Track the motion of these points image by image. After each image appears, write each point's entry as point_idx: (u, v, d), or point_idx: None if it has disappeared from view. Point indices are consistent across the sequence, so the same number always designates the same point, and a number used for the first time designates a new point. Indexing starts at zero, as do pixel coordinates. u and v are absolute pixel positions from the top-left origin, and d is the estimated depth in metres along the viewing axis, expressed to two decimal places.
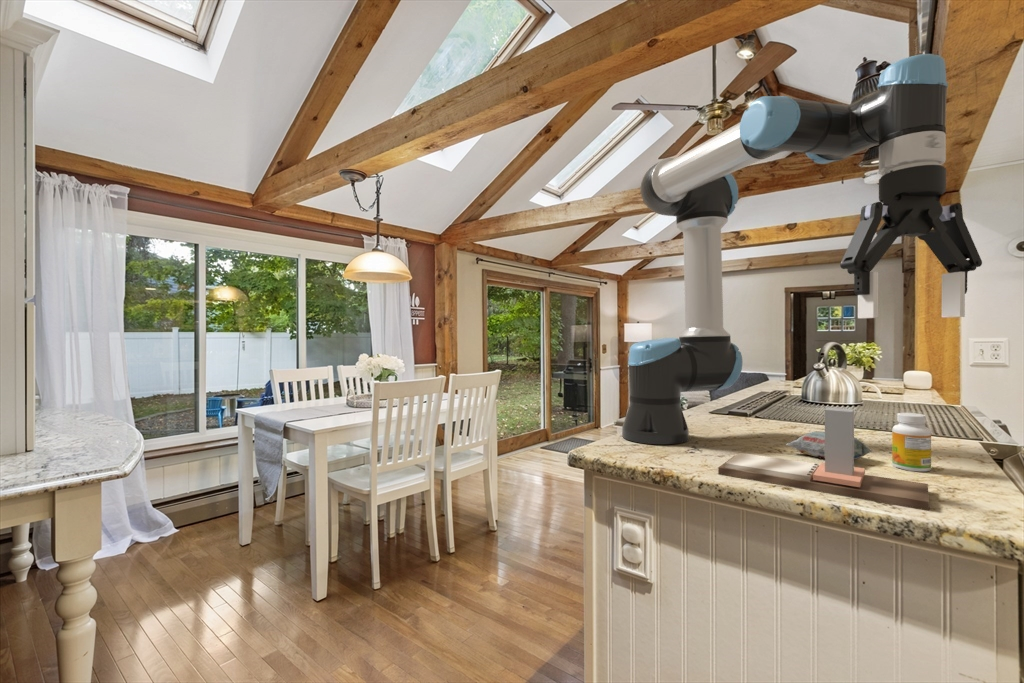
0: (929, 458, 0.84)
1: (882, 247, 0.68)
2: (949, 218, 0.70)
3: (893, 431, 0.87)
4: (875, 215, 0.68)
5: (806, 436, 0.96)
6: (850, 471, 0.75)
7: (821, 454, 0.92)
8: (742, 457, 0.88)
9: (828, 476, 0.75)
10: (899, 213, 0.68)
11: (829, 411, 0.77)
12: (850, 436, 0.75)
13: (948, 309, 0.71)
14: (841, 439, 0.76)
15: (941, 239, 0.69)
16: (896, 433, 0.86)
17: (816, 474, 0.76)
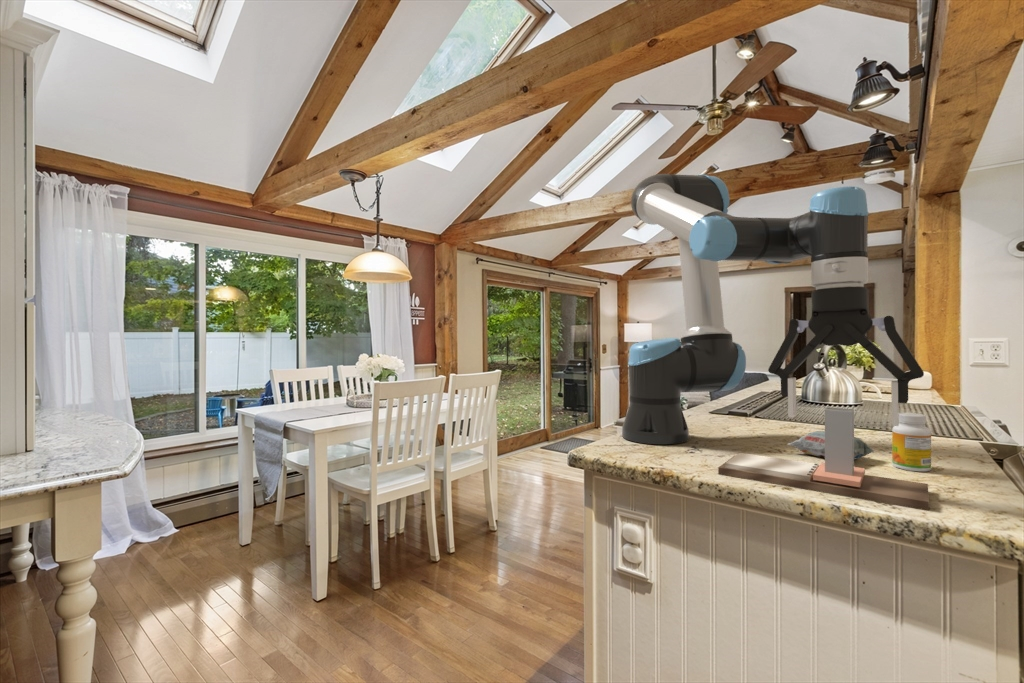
0: (929, 458, 0.84)
1: (798, 357, 0.79)
2: (884, 329, 0.73)
3: (893, 431, 0.87)
4: (789, 331, 0.80)
5: (808, 436, 0.96)
6: (850, 471, 0.75)
7: (823, 454, 0.93)
8: (742, 457, 0.88)
9: (828, 476, 0.75)
10: (817, 328, 0.78)
11: (829, 411, 0.77)
12: (850, 436, 0.75)
13: None
14: (841, 439, 0.76)
15: (867, 350, 0.73)
16: (896, 433, 0.86)
17: (816, 474, 0.76)
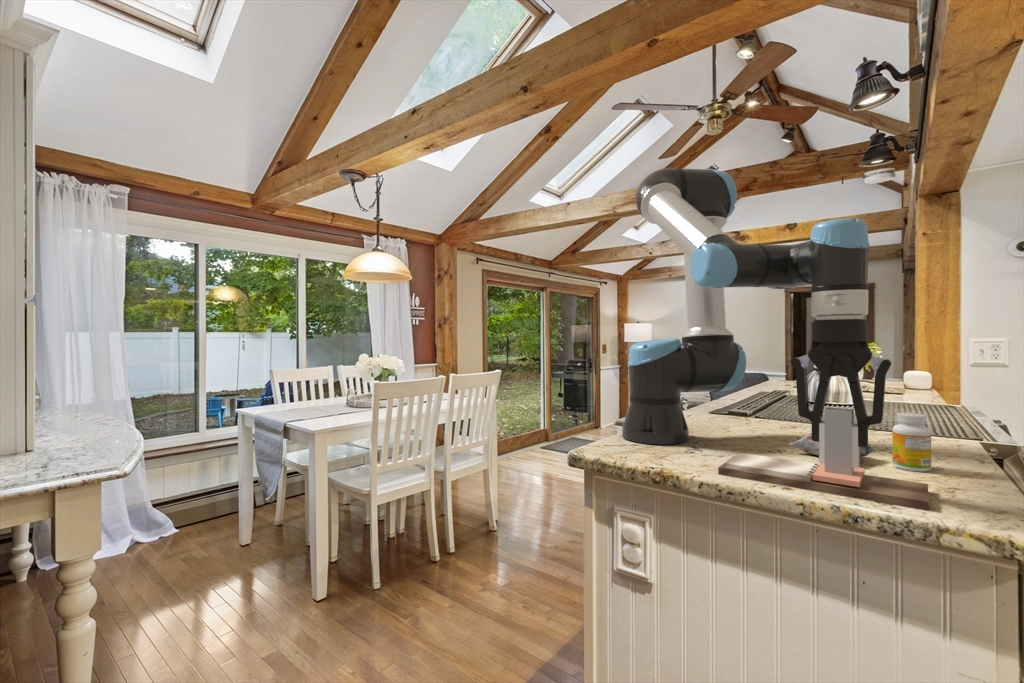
0: (929, 458, 0.84)
1: (818, 397, 0.78)
2: (875, 369, 0.73)
3: (893, 431, 0.87)
4: (796, 370, 0.80)
5: (810, 436, 0.96)
6: (850, 471, 0.75)
7: None
8: (742, 457, 0.88)
9: (828, 476, 0.75)
10: (818, 357, 0.78)
11: (829, 411, 0.77)
12: (850, 436, 0.75)
13: None
14: (841, 439, 0.76)
15: (849, 386, 0.75)
16: (896, 433, 0.86)
17: (816, 474, 0.76)
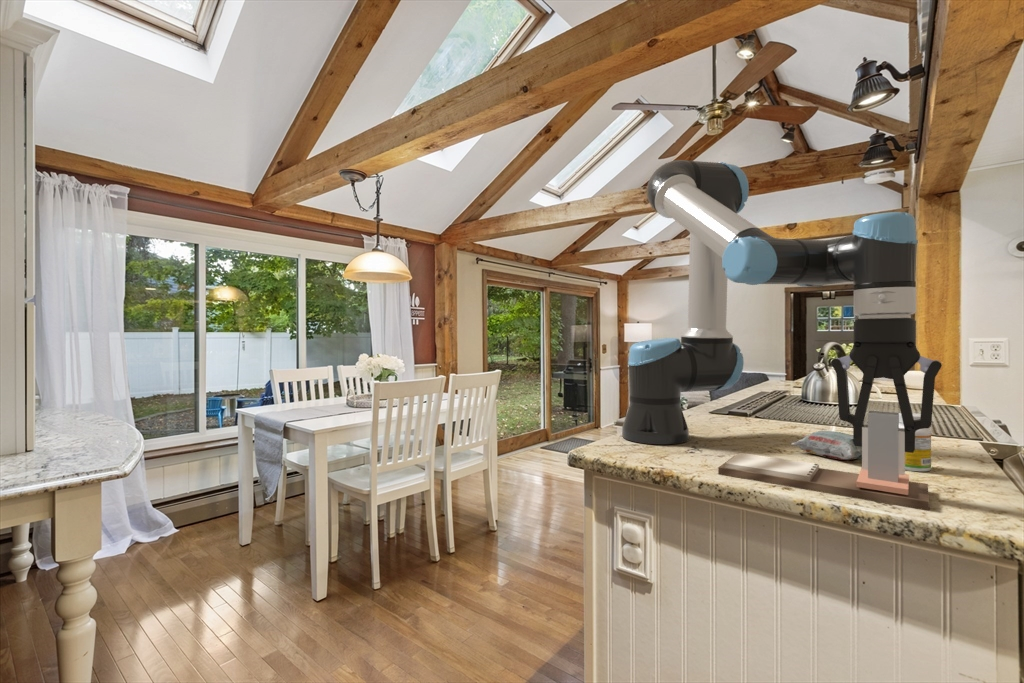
0: (929, 458, 0.84)
1: (861, 400, 0.74)
2: (924, 371, 0.70)
3: None
4: (837, 372, 0.76)
5: (812, 435, 0.96)
6: (896, 478, 0.71)
7: (827, 453, 0.93)
8: (742, 457, 0.88)
9: (873, 483, 0.71)
10: (861, 358, 0.74)
11: (873, 415, 0.73)
12: (896, 441, 0.71)
13: None
14: (886, 444, 0.72)
15: (895, 388, 0.71)
16: None
17: (859, 481, 0.72)
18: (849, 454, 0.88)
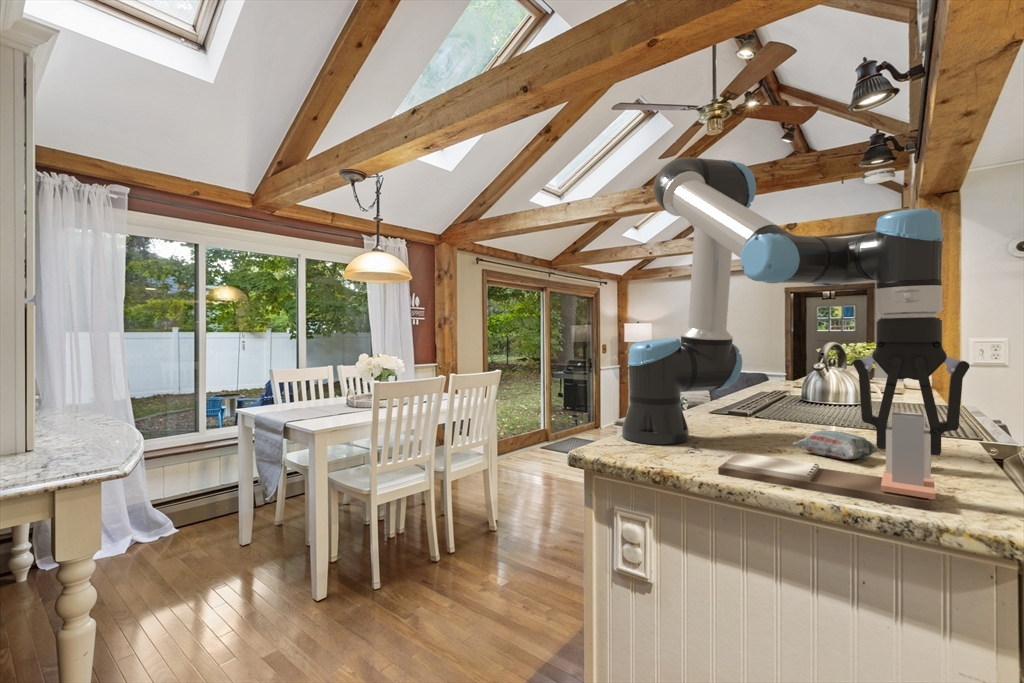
0: None
1: (884, 402, 0.72)
2: (951, 372, 0.68)
3: None
4: (859, 372, 0.74)
5: (813, 435, 0.96)
6: (921, 481, 0.69)
7: (828, 453, 0.93)
8: (742, 457, 0.88)
9: (898, 487, 0.69)
10: (885, 358, 0.72)
11: (897, 416, 0.71)
12: (921, 444, 0.69)
13: None
14: (911, 447, 0.70)
15: (921, 390, 0.69)
16: None
17: (884, 484, 0.70)
18: (851, 454, 0.88)
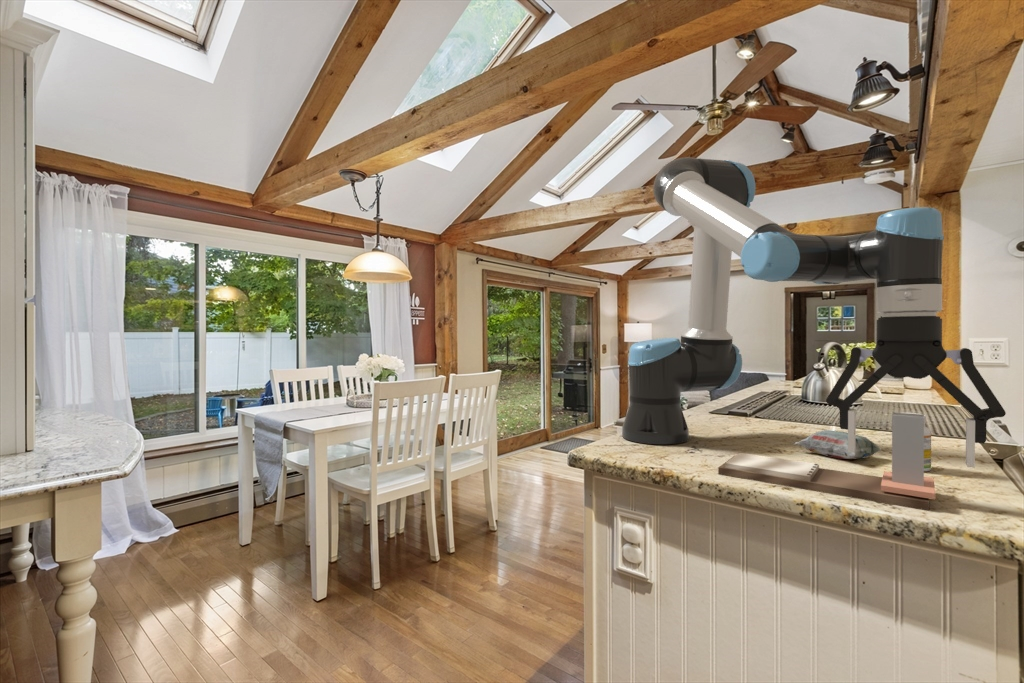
0: (929, 458, 0.84)
1: (860, 389, 0.74)
2: (959, 363, 0.67)
3: None
4: (851, 360, 0.75)
5: (815, 435, 0.97)
6: (921, 481, 0.69)
7: (830, 453, 0.93)
8: (742, 457, 0.88)
9: (898, 487, 0.69)
10: (882, 358, 0.72)
11: (897, 416, 0.71)
12: (921, 444, 0.69)
13: (966, 456, 0.68)
14: (911, 447, 0.70)
15: None
16: None
17: (884, 484, 0.70)
18: (853, 454, 0.89)
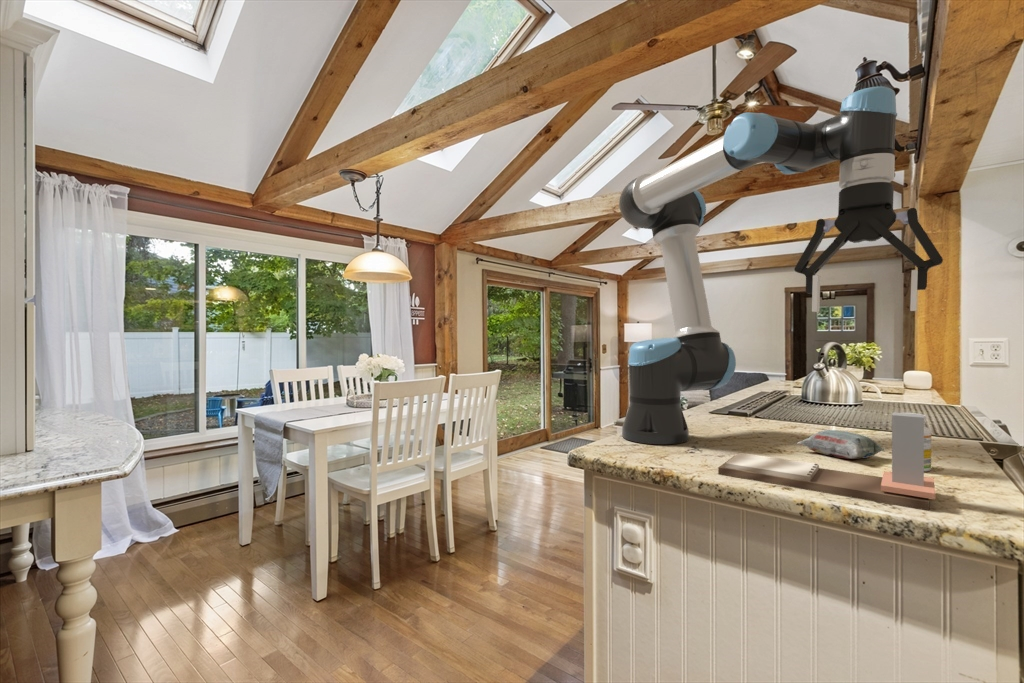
0: (929, 458, 0.84)
1: (823, 255, 0.85)
2: (907, 222, 0.78)
3: None
4: (816, 230, 0.85)
5: (818, 434, 0.97)
6: (921, 481, 0.69)
7: (832, 452, 0.94)
8: (742, 457, 0.88)
9: (898, 487, 0.69)
10: (842, 225, 0.83)
11: (897, 416, 0.71)
12: (921, 444, 0.69)
13: None
14: (911, 447, 0.70)
15: (890, 242, 0.79)
16: None
17: (884, 484, 0.70)
18: (855, 453, 0.89)
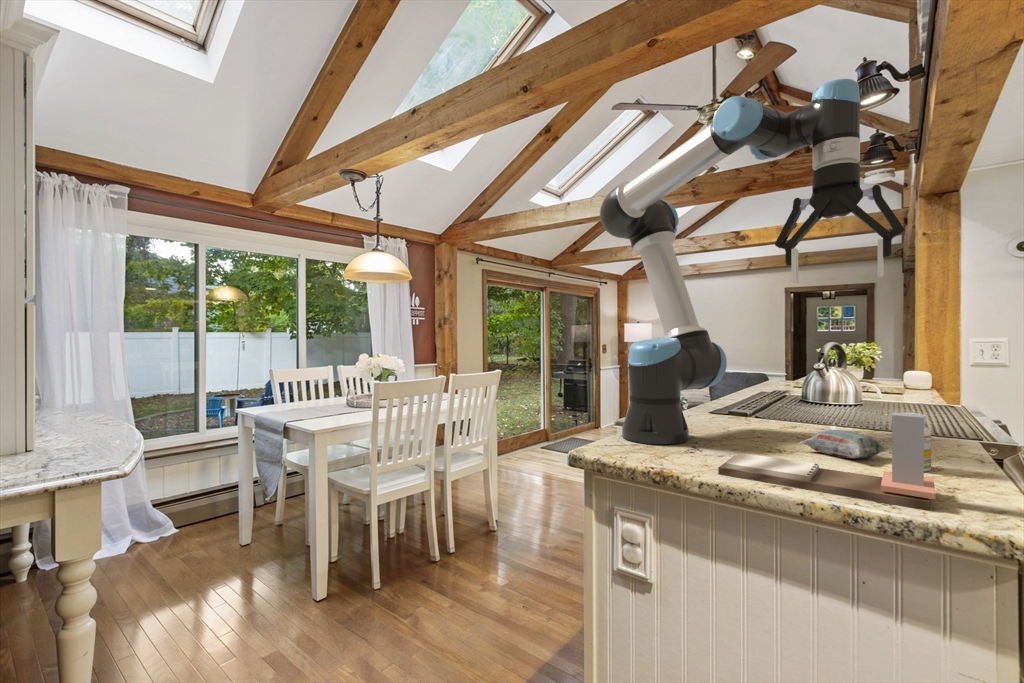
0: (929, 458, 0.84)
1: (800, 230, 0.94)
2: (872, 197, 0.87)
3: None
4: (793, 208, 0.95)
5: (820, 434, 0.97)
6: (921, 481, 0.69)
7: (835, 452, 0.94)
8: (742, 457, 0.88)
9: (898, 487, 0.69)
10: (816, 202, 0.92)
11: (897, 416, 0.71)
12: (921, 444, 0.69)
13: None
14: (911, 447, 0.70)
15: (858, 216, 0.88)
16: None
17: (884, 484, 0.70)
18: (857, 453, 0.89)
